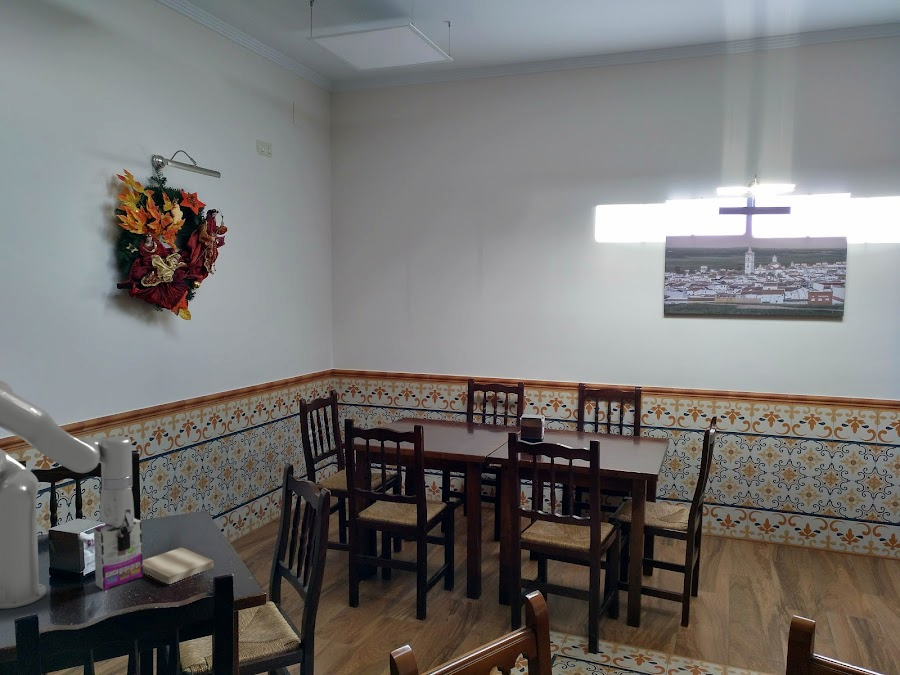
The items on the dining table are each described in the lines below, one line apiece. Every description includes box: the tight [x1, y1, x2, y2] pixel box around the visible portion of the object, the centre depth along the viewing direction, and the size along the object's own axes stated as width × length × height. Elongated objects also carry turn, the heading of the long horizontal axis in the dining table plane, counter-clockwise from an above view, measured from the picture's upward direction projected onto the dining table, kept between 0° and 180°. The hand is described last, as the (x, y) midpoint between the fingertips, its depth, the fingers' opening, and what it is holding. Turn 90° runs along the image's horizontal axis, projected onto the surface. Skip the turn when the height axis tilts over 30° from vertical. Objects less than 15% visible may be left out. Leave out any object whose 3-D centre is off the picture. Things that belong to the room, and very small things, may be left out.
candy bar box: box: [93, 517, 144, 591], centre depth 187 cm, size 11×5×16 cm, turn 143°
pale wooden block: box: [142, 546, 215, 584], centre depth 196 cm, size 14×16×3 cm
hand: (118, 546), depth 187 cm, fingers closed on candy bar box, 5 cm apart
